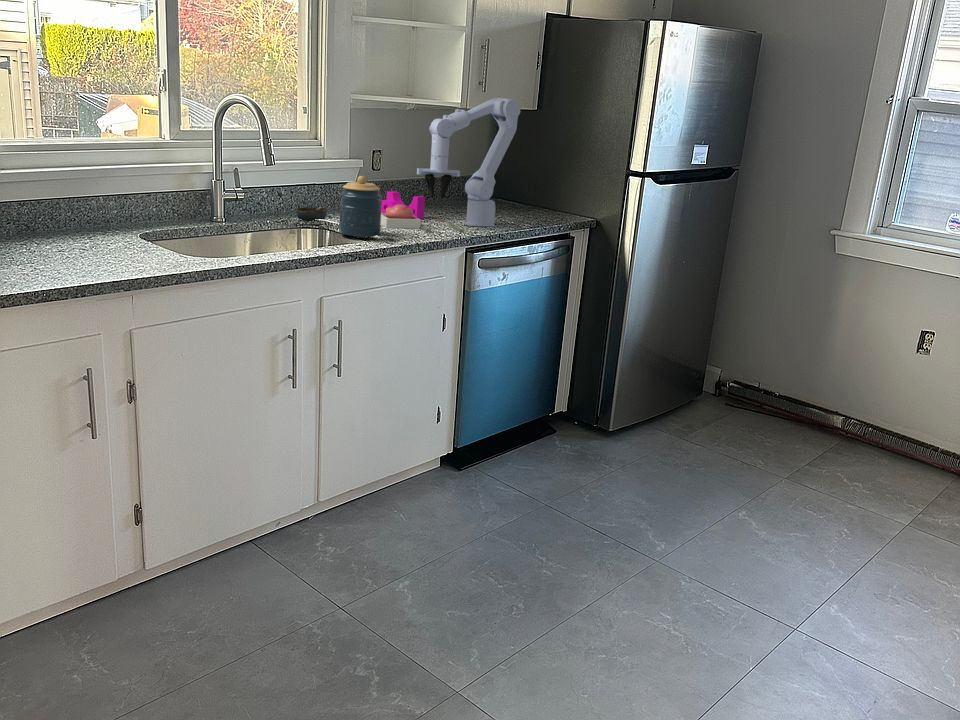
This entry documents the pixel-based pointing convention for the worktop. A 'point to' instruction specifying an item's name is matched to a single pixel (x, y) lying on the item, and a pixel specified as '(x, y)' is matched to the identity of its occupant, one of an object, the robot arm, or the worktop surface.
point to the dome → (399, 212)
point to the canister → (360, 209)
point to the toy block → (395, 199)
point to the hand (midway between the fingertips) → (437, 197)
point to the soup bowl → (311, 214)
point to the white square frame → (400, 222)
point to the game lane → (444, 223)
